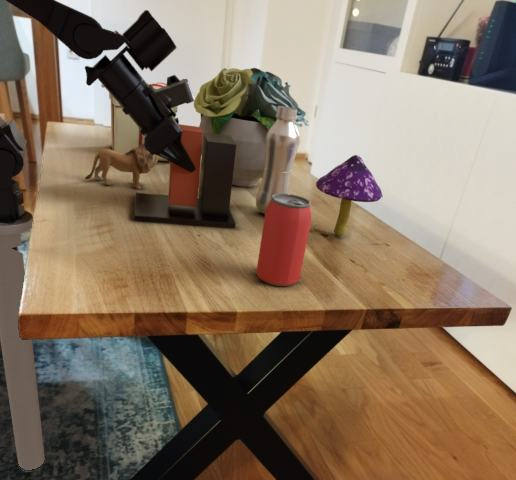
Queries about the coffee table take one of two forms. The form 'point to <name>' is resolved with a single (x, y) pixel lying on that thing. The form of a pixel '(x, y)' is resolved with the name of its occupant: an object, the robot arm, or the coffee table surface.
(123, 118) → the gift box
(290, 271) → the beer can
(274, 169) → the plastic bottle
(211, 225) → the seat plate
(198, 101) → the flower arrangement
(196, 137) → the tall terracotta column
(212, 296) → the coffee table surface
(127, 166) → the lion figurine
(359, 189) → the decorative mushroom
